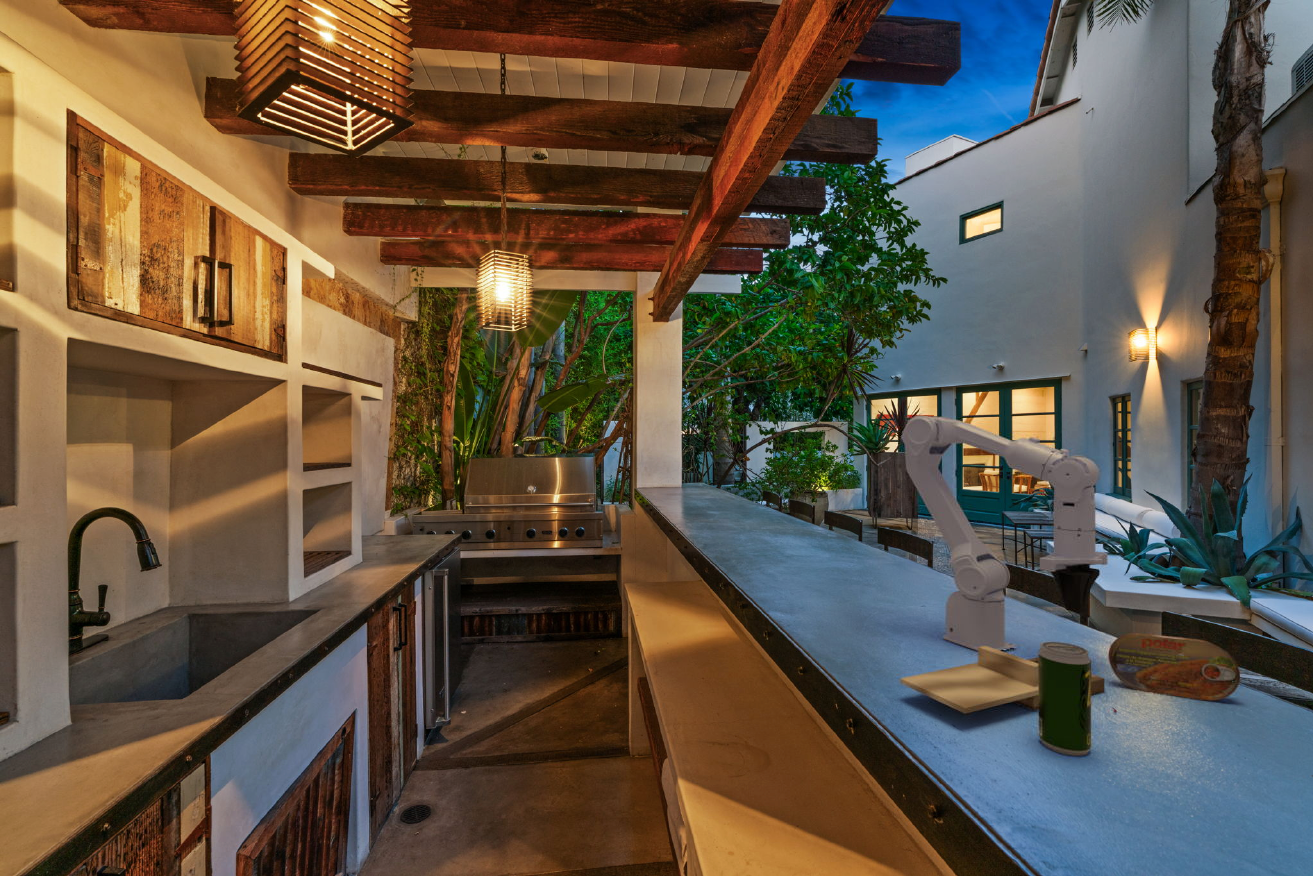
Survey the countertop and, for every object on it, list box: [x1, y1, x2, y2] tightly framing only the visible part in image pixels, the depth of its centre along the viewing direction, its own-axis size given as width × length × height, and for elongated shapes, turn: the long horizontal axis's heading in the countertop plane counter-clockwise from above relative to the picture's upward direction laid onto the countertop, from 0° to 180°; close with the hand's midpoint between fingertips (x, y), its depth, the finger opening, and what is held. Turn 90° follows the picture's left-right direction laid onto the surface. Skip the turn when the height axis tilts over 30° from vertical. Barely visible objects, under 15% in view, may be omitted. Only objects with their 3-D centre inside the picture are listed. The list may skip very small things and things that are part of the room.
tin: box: [1107, 632, 1241, 702], centre depth 91 cm, size 15×3×8 cm, turn 62°
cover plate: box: [899, 646, 1039, 714], centre depth 87 cm, size 11×17×4 cm, turn 114°
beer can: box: [1037, 641, 1092, 757], centre depth 75 cm, size 5×5×12 cm
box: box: [1012, 657, 1106, 712], centre depth 92 cm, size 10×16×2 cm, turn 114°
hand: (1074, 611), depth 101 cm, fingers closed
